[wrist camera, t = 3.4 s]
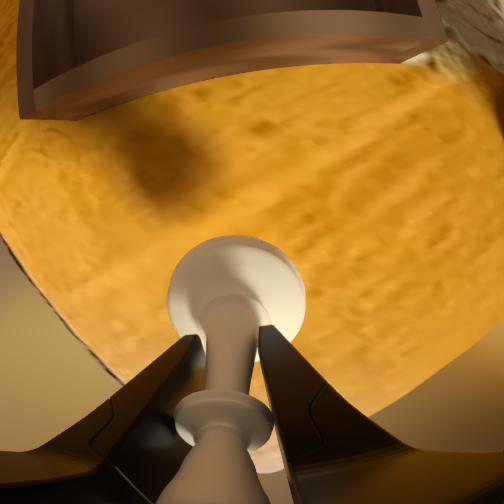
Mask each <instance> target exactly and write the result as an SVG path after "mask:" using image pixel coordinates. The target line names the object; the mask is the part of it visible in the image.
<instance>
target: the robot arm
mask: <svg viewBox="0 0 504 504" xmlns="http://www.w3.org/2000/svg"><path fill="white" fill-rule="evenodd" d="M258 355H259V359H260V364H261V369H262V374H263V378H264V383H265V387H266V392H267V397H268V401H269V406H270V410H271V413H272V415H273V419H274V427H275V431H276V435H277V439H278V443H279V447H280V451H281V455H282V459H283V463H284V467H285V471H286V475H287V479H288V483H289V487H290V491H291V495H292V499H293V502H294V504H504V451H495V452H452V451H433V450H422V449H418V448H415V447H412V446H410V445H408V444H406V443H404V442H402V441H401V440H399V439H398V438H396V437H394V436H393V435H392V434H390V433H389V432H387V431H386V430H385V429H383V428H382V427H380V426H379V425H378V424H376V423H375V422H373V421H372V420H371V419H369V418H368V417H366V416H365V415H364V414H362V413H361V412H360V411H359V410H357V409H356V408H355V407H353V406H352V405H351V404H350V403H348V402H347V401H346V400H345V399H344V398H343V397H342V396H341V395H340V394H339V393H338V392H337V391H336V390H335V389H334V388H333V387H332V386H331V385H330V384H328V382H327V381H326V380H325V379H324V378H323V377H322V376H321V375H320V374H319V373H318V372H317V371H316V370H315V368H314V367H313V366H312V365H311V364H310V363H309V362H308V361H307V360H306V359H305V358H304V357H303V356H302V355H301V354H300V353H299V352H298V351H297V349H296V348H295V347H294V346H293V345H292V344H291V343H290V342H289V341H288V340H287V339H286V338H285V337H284V336H283V334H282V333H281V332H280V331H279V330H278V329H277V328H276V327H275V326H274V325H272V324H271V325H264V326H260V327H259V333H258ZM205 378H206V354H205V351H204V348H203V345H202V342H201V339H200V337H199V335H198V334H190V335H184V336H183V337H182V338H181V339H179V340H178V341H177V342H176V343H175V344H173V345H172V346H171V347H170V348H169V349H168V350H166V351H165V352H164V353H163V354H162V355H160V356H159V357H158V358H157V359H156V360H154V361H153V362H152V363H151V364H150V365H148V366H147V367H146V368H145V369H144V370H142V371H141V372H140V373H139V374H138V375H136V376H135V377H134V378H133V379H132V380H130V381H129V382H128V383H127V384H126V385H124V386H123V387H122V388H121V389H120V390H118V391H117V392H116V393H115V394H113V395H112V396H111V397H110V399H107V400H106V401H105V402H104V403H102V404H101V405H100V406H99V407H97V408H96V409H95V410H94V411H92V412H91V413H90V414H88V415H87V416H86V417H85V418H83V419H81V420H80V421H78V422H77V423H76V424H74V425H73V426H71V427H70V428H68V429H67V430H65V431H64V432H62V433H61V434H59V435H57V436H56V437H55V438H53V439H52V440H50V441H48V442H47V443H45V444H44V445H42V446H40V447H39V448H36V449H33V450H30V451H25V452H9V451H0V504H156V502H157V500H158V498H159V496H160V495H161V493H162V492H163V490H164V489H165V487H166V486H167V485H168V484H169V483H170V482H171V480H172V479H173V478H174V476H175V475H176V473H177V472H178V470H179V469H180V467H181V465H182V463H183V461H184V459H185V457H186V456H187V455H188V453H189V452H190V451H191V449H192V448H193V446H192V445H190V444H188V443H187V442H186V441H185V440H184V439H182V437H181V436H180V435H179V434H178V432H177V430H176V427H175V420H174V410H175V408H176V406H177V404H178V403H179V402H180V401H181V400H182V399H183V398H185V397H186V396H188V395H190V394H192V393H195V392H199V391H203V390H205Z"/></svg>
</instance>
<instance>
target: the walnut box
mask: <svg viewBox="0 0 504 504" xmlns="http://www.w3.org/2000/svg"><path fill="white" fill-rule="evenodd" d="M446 42H448V40H447V36H446V33H445V29H444V26H443V23H442V20H441V16H440V13H439V10H438V8H437V5H436V2H435V0H20V5H19V16H18V30H17V89H18V104H19V115H20V119H43V120H70V121H77V120H79V119H82V118H84V117H87V116H89V115H92V114H94V113H97V112H99V111H102V110H105V109H107V108H110V107H113V106H116V105H119V104H122V103H124V102H127V101H130V100H134V99H137V98H140V97H143V96H146V95H150V94H153V93H156V92H160V91H163V90H167V89H171V88H175V87H178V86H182V85H186V84H191V83H195V82H199V81H204V80H208V79H213V78H218V77H223V76H228V75H234V74H239V73H245V72H252V71H258V70H265V69H273V68H281V67H290V66H301V65H314V64H330V63H398V64H399V63H401V62H403V61H406V60H408V59H410V58H412V57H414V56H416V55H418V54H421V53H423V52H425V51H427V50H430V49H432V48H434V47H436V46H439V45H441V44H443V43H446Z"/></svg>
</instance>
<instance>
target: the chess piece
mask: <svg viewBox="0 0 504 504" xmlns="http://www.w3.org/2000/svg"><path fill="white" fill-rule="evenodd" d="M305 305H306V303H305V287H304V283H303V280H302V277H301V275H300V273H299V271H298V269H297V267H296V266H295V264H294V263H293V262H292V261H291V259H290V258H289V257H288V256H287V255H286V254H285V253H283V252H282V251H281V250H279V249H278V248H277V247H275V246H273V245H271V244H270V243H267V242H265V241H263V240H260V239H257V238H253V237H248V236H239V235H231V236H222V237H217V238H213V239H210V240H208V241H205V242H203V243H201V244H199V245H197V246H196V247H194V248H193V249H191V250H190V251H189V252H188V253H187V254H186V255H185V256H184V257H183V258H182V259H181V260H180V262H179V263H178V265H177V266H176V268H175V270H174V272H173V274H172V277H171V281H170V285H169V289H168V295H167V307H168V313H169V317H170V320H171V322H172V325H173V327H174V328H175V330H176V332H177V333H178V335H179V336H180V337H181V338H182V337H183V336H184V335H190V334H198V335H199V337H200V339H201V342H202V345H203V348H204V351H205V354H206V378H205V390H203V391H199V392H195V393H192V394H190V395H188V396H186V397H185V398H183V399H182V400H181V401H180V402H179V403H178V404H177V406H176V408H175V410H174V420H175V427H176V430H177V432H178V434H179V435H180V436H181V437H182V439H184V440H185V441H186V442H187V443H188V444H190V445H192V446H193V448H192V449H191V451H190V452H189V453H188V455H187V456H186V457H185V459H184V461H183V463H182V465H181V467H180V469H179V470H178V472H177V473H176V475H175V476H174V478H173V479H172V480H171V482H170V483H169V484H168V485H167V486H166V487H165V489H164V490H163V492H162V493H161V495H160V496H159V498H158V500H157V502H156V504H271V503H270V501H269V499H268V497H267V495H266V493H265V492H264V490H263V488H262V486H261V483H260V481H259V479H258V476H257V473H256V469H255V466H254V463H253V461H252V459H251V457H250V455H249V452H252V451H254V450H256V449H258V448H260V447H262V446H263V445H264V444H265V443H266V442H267V441H268V440H269V438H270V436H271V432H272V430H273V427H274V419H273V415H272V413H271V411H270V410H269V408H268V407H267V406H266V405H265V404H263V403H262V402H261V401H259V400H258V399H256V398H254V397H252V396H250V395H249V390H250V383H251V378H252V373H253V367H254V362H257V361H260V359H259V355H258V333H259V327H260V326H264V325H271V324H272V325H274V326H275V327H276V328H277V329H278V330H279V331H280V332H281V333H282V334H283V336H284V337H285V338H286V339H287V340H288V341H289V342H291V341H292V340H293V339H294V337H295V336H296V335H297V333H298V331H299V329H300V327H301V325H302V322H303V319H304V315H305Z"/></svg>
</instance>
